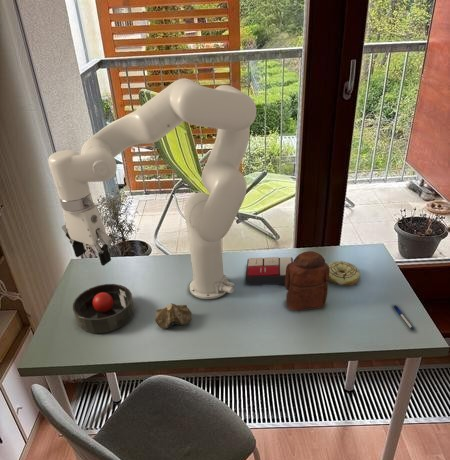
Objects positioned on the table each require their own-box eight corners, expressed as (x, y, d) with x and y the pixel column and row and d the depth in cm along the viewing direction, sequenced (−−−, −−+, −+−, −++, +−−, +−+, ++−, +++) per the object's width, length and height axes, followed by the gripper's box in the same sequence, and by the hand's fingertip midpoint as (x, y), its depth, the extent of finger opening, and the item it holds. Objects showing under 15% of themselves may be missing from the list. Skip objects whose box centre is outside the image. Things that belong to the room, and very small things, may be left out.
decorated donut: (342, 292, 133) (343, 282, 131) (317, 276, 141) (318, 266, 138) (365, 279, 138) (367, 269, 136) (340, 265, 145) (341, 255, 143)
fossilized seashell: (193, 305, 128) (161, 309, 130) (186, 297, 122) (152, 301, 124) (193, 330, 125) (160, 333, 127) (185, 323, 119) (151, 327, 121)
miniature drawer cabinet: (247, 256, 146) (292, 255, 144) (248, 267, 148) (292, 266, 146) (245, 275, 137) (293, 273, 135) (246, 286, 139) (293, 285, 137)
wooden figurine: (320, 295, 132) (325, 245, 122) (327, 308, 127) (333, 257, 117) (282, 300, 131) (284, 249, 121) (287, 313, 126) (290, 261, 116)
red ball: (119, 309, 130) (115, 289, 130) (103, 312, 125) (99, 292, 125) (106, 311, 134) (102, 292, 133) (90, 315, 129) (86, 295, 129)
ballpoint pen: (392, 307, 126) (393, 304, 126) (395, 306, 127) (396, 304, 126) (411, 330, 118) (412, 328, 117) (414, 330, 118) (415, 327, 117)
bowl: (146, 307, 132) (143, 293, 129) (107, 341, 120) (103, 327, 117) (105, 292, 140) (102, 278, 136) (65, 323, 128) (60, 308, 125)
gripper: (112, 201, 108) (126, 259, 118) (64, 190, 115) (81, 245, 125) (90, 214, 103) (107, 273, 113) (42, 201, 110) (61, 258, 120)
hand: (93, 258), depth 119 cm, fingers open, 9 cm apart
